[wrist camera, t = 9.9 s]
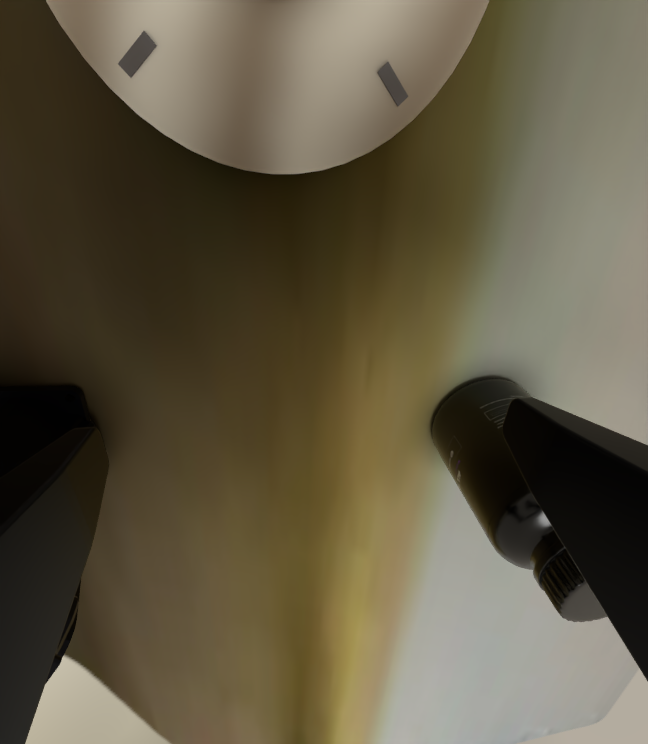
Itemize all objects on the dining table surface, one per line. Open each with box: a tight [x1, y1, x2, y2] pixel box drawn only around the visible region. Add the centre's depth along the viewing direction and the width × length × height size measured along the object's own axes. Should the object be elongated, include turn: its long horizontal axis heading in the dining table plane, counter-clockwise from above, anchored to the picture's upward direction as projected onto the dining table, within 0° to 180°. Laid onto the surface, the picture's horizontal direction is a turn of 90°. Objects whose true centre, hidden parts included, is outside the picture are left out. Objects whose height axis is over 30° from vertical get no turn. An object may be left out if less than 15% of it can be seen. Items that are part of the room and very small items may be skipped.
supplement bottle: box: [432, 379, 608, 622], centre depth 22 cm, size 7×7×12 cm
